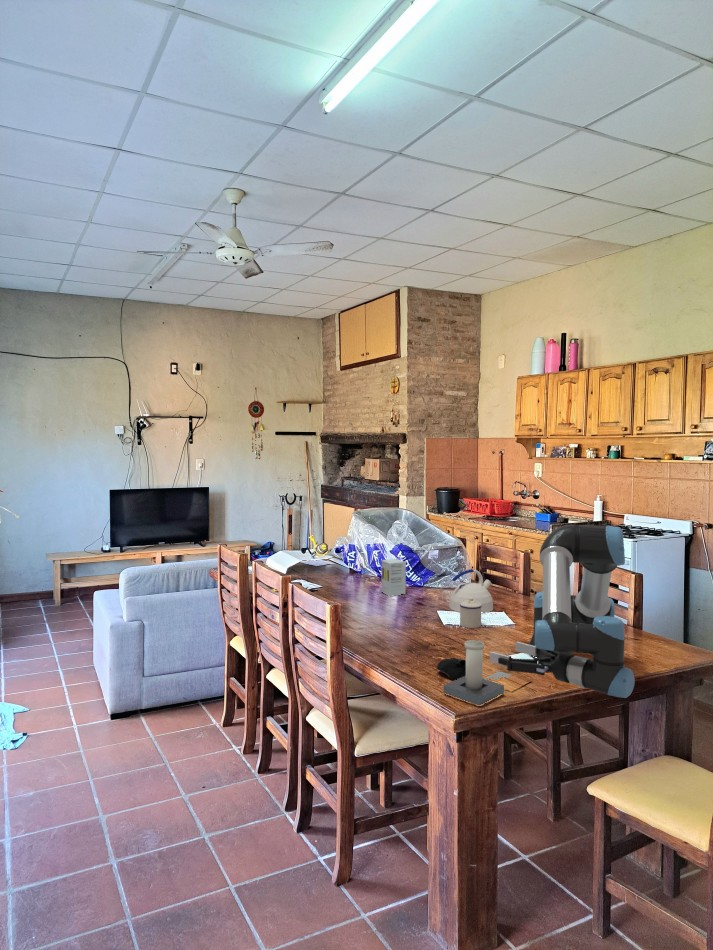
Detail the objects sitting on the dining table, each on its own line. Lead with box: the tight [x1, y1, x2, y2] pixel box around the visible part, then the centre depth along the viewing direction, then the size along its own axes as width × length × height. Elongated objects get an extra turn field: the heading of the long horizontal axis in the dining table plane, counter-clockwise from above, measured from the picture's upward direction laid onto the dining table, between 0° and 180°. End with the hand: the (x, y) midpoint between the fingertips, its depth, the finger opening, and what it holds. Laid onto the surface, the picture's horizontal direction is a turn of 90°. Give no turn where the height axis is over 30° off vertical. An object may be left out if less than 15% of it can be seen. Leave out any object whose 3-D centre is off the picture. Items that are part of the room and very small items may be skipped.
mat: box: [483, 671, 511, 680], centre depth 207 cm, size 12×12×1 cm
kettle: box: [448, 568, 494, 613], centre depth 297 cm, size 20×21×18 cm
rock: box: [436, 657, 466, 681], centre depth 212 cm, size 9×10×10 cm
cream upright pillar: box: [464, 639, 485, 691], centre depth 196 cm, size 6×6×16 cm
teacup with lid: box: [459, 597, 482, 629], centre depth 271 cm, size 12×9×12 cm
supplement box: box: [380, 558, 407, 597], centre depth 324 cm, size 10×9×17 cm
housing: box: [443, 675, 505, 705], centre depth 196 cm, size 13×13×3 cm
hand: (503, 651), depth 188 cm, fingers open, 13 cm apart
